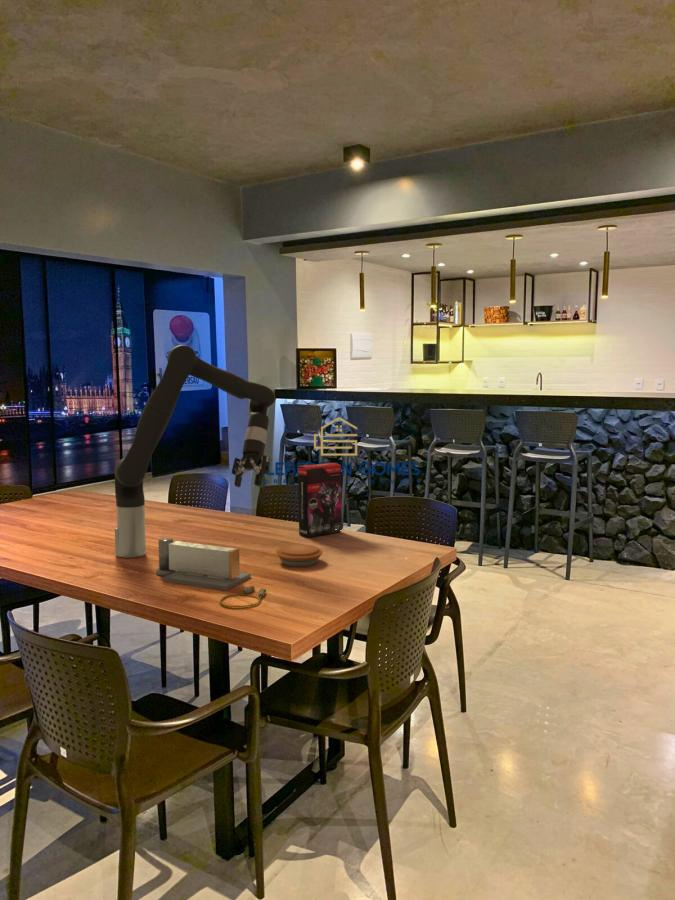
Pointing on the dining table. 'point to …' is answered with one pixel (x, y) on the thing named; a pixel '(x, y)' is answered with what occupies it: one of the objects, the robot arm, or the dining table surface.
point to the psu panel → (202, 579)
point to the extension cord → (245, 591)
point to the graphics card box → (319, 499)
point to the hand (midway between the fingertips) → (247, 486)
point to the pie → (299, 555)
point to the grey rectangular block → (199, 558)
